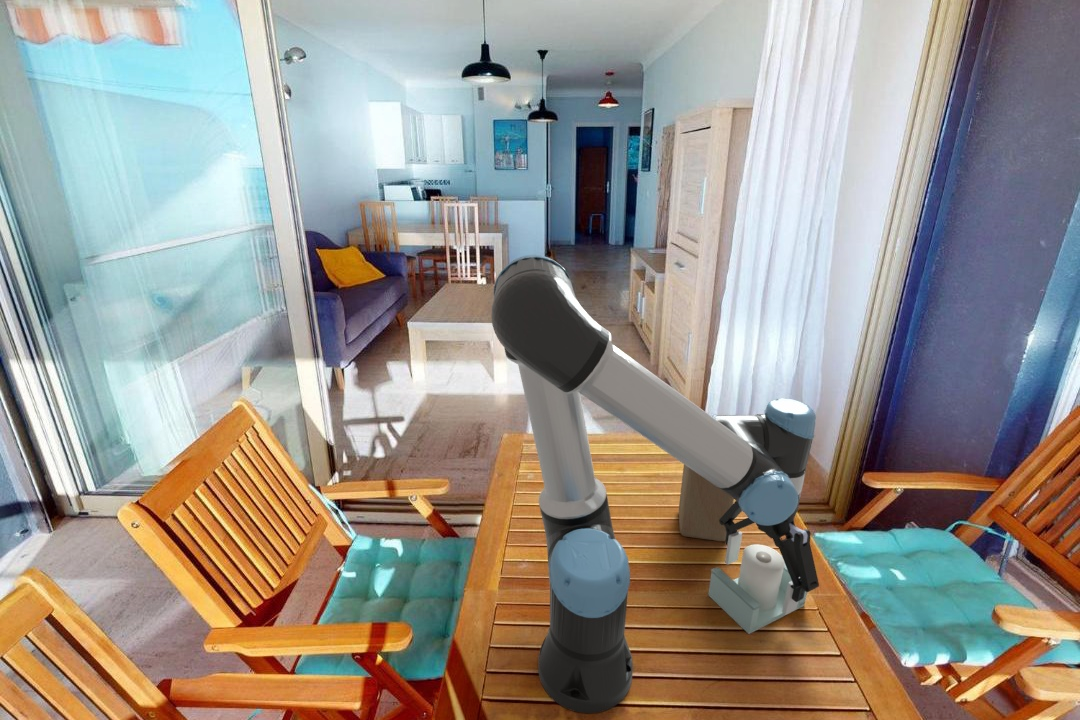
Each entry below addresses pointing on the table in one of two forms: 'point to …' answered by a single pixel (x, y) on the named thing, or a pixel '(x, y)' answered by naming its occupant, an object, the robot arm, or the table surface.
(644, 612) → the table surface
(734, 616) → the cradle
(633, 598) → the table surface
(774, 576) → the roll
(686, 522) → the wooden block
